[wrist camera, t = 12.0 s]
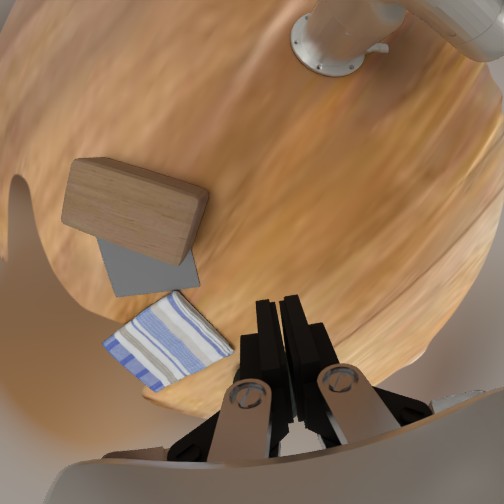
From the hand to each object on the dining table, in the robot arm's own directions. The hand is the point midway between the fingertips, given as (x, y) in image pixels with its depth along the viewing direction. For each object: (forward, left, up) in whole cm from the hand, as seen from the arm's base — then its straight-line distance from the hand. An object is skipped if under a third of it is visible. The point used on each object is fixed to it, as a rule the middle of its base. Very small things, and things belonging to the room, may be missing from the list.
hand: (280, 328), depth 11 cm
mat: (+20, +6, -35) cm, 41 cm away
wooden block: (+8, +2, -30) cm, 31 cm away
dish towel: (+22, +26, -35) cm, 49 cm away
